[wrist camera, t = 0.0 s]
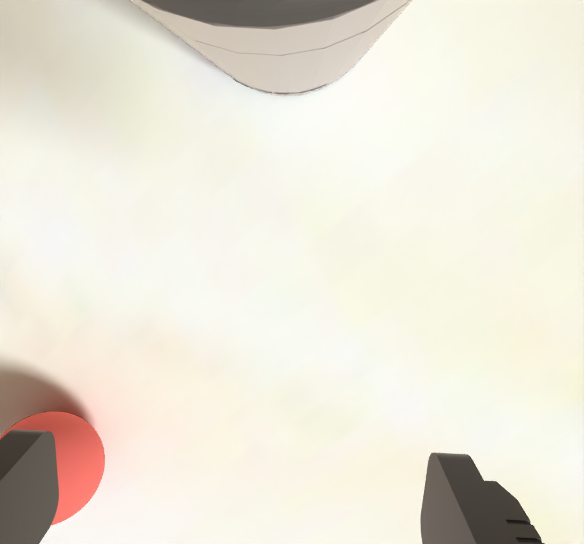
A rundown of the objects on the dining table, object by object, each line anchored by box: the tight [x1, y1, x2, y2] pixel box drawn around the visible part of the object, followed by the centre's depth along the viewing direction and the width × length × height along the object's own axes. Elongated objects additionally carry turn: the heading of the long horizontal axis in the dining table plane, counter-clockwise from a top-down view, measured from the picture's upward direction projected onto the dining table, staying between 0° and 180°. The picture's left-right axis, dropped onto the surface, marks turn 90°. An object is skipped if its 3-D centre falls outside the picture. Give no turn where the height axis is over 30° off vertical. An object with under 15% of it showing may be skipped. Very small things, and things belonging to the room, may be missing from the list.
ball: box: [0, 411, 105, 525], centre depth 27 cm, size 6×6×6 cm
